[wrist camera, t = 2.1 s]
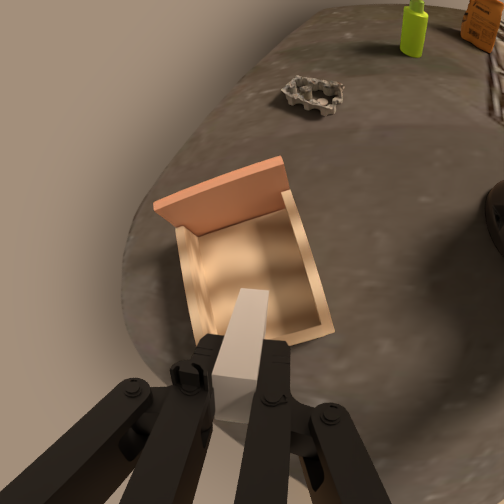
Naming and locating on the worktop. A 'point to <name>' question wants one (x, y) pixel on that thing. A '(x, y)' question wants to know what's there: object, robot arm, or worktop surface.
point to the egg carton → (306, 93)
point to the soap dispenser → (413, 29)
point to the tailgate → (227, 198)
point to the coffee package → (482, 23)
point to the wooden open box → (255, 276)
